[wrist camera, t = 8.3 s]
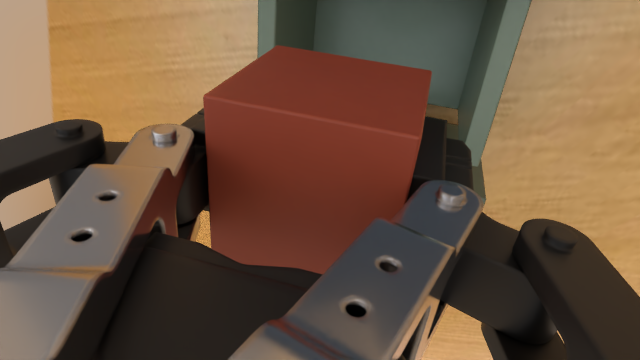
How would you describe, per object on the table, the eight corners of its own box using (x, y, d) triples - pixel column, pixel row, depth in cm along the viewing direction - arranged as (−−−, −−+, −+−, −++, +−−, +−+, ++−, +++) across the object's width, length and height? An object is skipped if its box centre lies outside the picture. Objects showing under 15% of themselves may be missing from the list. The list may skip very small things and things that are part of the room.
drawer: (454, 204, 28) (455, 288, 22) (286, 168, 30) (241, 236, 24) (548, -103, 19) (596, -116, 13) (303, -125, 21) (237, -146, 15)
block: (271, 176, 15) (210, 259, 11) (276, 44, 12) (201, 94, 9) (401, 204, 14) (382, 304, 10) (432, 69, 12) (421, 137, 8)
